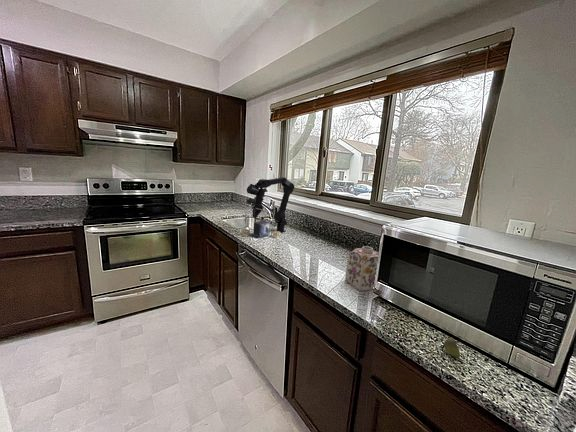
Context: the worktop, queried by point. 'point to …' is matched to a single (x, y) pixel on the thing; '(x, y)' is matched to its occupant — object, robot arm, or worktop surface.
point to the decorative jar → (362, 268)
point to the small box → (261, 229)
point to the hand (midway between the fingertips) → (253, 217)
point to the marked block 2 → (276, 234)
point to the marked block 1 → (245, 232)
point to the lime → (451, 348)
